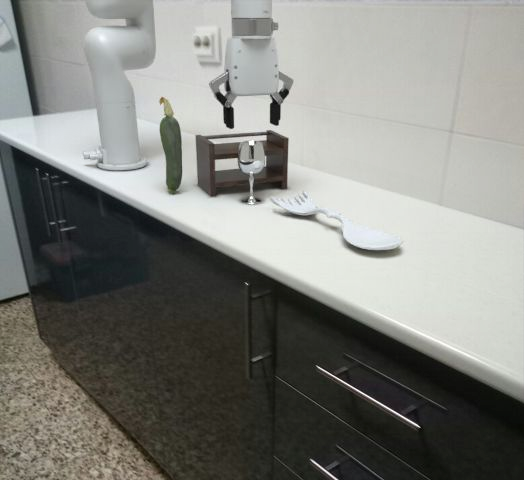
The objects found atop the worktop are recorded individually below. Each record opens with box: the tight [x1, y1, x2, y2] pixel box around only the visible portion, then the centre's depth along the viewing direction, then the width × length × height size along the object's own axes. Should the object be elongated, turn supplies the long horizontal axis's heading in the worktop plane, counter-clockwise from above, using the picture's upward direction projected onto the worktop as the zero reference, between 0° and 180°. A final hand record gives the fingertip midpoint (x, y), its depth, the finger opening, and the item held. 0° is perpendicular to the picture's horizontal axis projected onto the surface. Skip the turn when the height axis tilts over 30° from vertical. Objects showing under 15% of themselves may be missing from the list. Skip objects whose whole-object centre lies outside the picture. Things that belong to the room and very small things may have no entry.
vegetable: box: [158, 96, 183, 194], centre depth 124 cm, size 4×4×20 cm
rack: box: [194, 129, 290, 198], centre depth 132 cm, size 18×10×11 cm, turn 112°
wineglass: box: [236, 140, 266, 205], centre depth 122 cm, size 6×6×12 cm
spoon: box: [269, 190, 404, 251], centre depth 109 cm, size 9×32×4 cm, turn 32°
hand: (252, 126), depth 117 cm, fingers open, 9 cm apart
